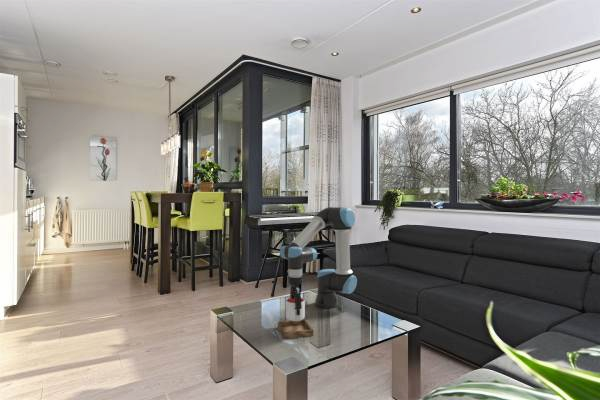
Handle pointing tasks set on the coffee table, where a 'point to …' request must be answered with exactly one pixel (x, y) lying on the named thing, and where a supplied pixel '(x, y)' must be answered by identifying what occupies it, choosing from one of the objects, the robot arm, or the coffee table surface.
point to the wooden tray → (295, 329)
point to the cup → (291, 311)
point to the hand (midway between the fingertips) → (295, 317)
